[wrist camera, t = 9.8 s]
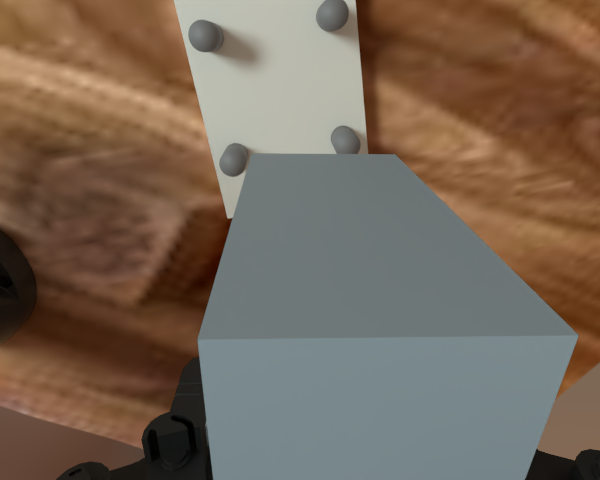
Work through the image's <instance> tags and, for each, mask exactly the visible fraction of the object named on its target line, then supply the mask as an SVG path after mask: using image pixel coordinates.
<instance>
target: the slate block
mask: <svg viewBox="0 0 600 480" xmlns="http://www.w3.org/2000/svg"><path fill="white" fill-rule="evenodd" d="M578 336H579V335H578V334H577V333H576V332H575V331H574V330H573V329H572V328H571V327H570V326H569V325H568V324H567V323H566V322H565V321H564V320H563V319H562V318H561V317H560V316H559V315H558V314H557V313H556V312H555V311H554V310H553V309H552V308H551V307H550V306H549V305H548V304H547V303H546V302H545V301H544V300H542V299H541V298H540V297H539V296H538V295H537V294H536V293H535V292H534V291H533V290H532V289H531V288H530V287H529V286H528V285H527V284H526V283H525V282H524V281H523V280H522V279H521V278H520V277H519V276H518V275H517V274H516V273H515V272H514V271H513V270H512V269H511V268H510V267H509V266H508V265H507V264H506V263H505V262H504V261H503V260H502V259H501V258H500V257H499V256H498V255H497V254H496V253H495V252H494V251H493V250H492V249H491V248H490V247H489V246H488V245H487V244H486V243H485V242H484V241H483V240H482V239H481V238H480V237H479V236H478V235H476V234H475V233H474V232H473V231H472V230H471V229H470V228H469V227H468V226H467V225H466V224H465V223H464V222H463V221H462V220H461V219H460V218H459V217H458V216H457V215H456V214H455V213H454V212H453V211H452V210H451V209H450V208H449V207H448V206H447V205H446V204H445V203H444V202H443V201H442V200H441V199H440V198H439V197H438V196H437V195H436V194H435V193H434V192H433V191H432V190H431V189H430V188H429V187H428V186H427V185H426V184H425V183H424V182H423V181H422V180H421V179H420V178H419V177H418V176H417V175H416V174H415V173H414V172H413V171H411V170H410V169H409V168H408V167H407V166H406V165H405V164H404V163H403V162H402V161H401V160H400V159H399V158H398V157H397V156H396V155H395V154H275V153H252V154H251V157H250V161H249V164H248V168H247V171H246V174H245V178H244V181H243V185H242V188H241V192H240V195H239V199H238V202H237V205H236V209H235V212H234V216H233V219H232V223H231V226H230V229H229V233H228V236H227V240H226V243H225V247H224V250H223V253H222V257H221V260H220V264H219V267H218V271H217V274H216V277H215V281H214V284H213V288H212V291H211V295H210V298H209V301H208V305H207V308H206V312H205V315H204V319H203V322H202V325H201V329H200V332H199V336H198V339H197V341H198V349H199V358H200V367H201V376H202V385H203V394H204V403H205V412H206V420H207V429H208V438H209V447H210V456H211V465H212V474H213V480H525V478H526V476H527V473H528V470H529V468H530V465H531V462H532V459H533V457H534V454H535V451H536V449H537V446H538V443H539V441H540V438H541V435H542V433H543V430H544V427H545V424H546V422H547V419H548V417H549V414H550V411H551V409H552V406H553V403H554V401H555V398H556V395H557V393H558V390H559V387H560V385H561V382H562V379H563V377H564V374H565V371H566V369H567V366H568V363H569V360H570V358H571V355H572V352H573V350H574V347H575V344H576V342H577V339H578Z"/></svg>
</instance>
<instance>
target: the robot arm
mask: <svg viewBox="0 0 600 480" xmlns="http://www.w3.org/2000/svg"><path fill="white" fill-rule="evenodd" d="M35 301H36V284H35V279H34V276H33V273H32V270H31V268H30V266H29V264H28V262H27V260H26V259H25V257H24V256H23V254H22V253H21V251H20V250H19V249H18V248H17V247H16V245H15V244H14V243H13V242H12V241H11V240H10V239H9V238H8V237H7V236H6V235H4V234H3V233H2V232H1V231H0V344H2V343H3V342H5V341H6V340H7V339H9V338H10V337H11V336H12V335H13V334H14V333H15V332H16V331H17V330H18V329H19V328H20V327H21V326H22V325H23V324H24V323H25V322H26V320H27V319H28V318H29V316H30V315H31V313H32V311H33V308H34V305H35ZM142 444H143V449H144V454H145V458H143V459H141V460H140V461H138V462H135V463H133V464H131V465H127V466H124V467H121V468H118V469H115V470H111V471H109V469H108V468H107V467H106V466H104V465H103V464H102V463H97V462H86V463H81V464H78V465H76V466H74V467H72V468H70V469H68V470H67V471H65V472H64V473H63V474H62V475H61V476H60V477H58V478H57V479H56V480H213V474H212V465H211V456H210V447H209V438H208V429H207V420H206V412H205V403H204V394H203V385H202V376H201V367H200V358H192V360H191V361H190V362H189V363H188V364H187V365H186V366H185V368H184V369H183V371H182V374H181V377H180V380H179V385H178V387H177V390H176V393H175V397H174V400H173V403H172V406H171V409H170V412H168V413H165V414H162V415H160V416H158V417H157V418H156V419H154V420H153V421H151V422H150V424H149V425H148V426H147V427H146V429H145V430H144V433H143V436H142ZM525 480H600V451H599V450H592V449H589V450H584V451H581V452H580V454H579V455H578V456H577V457H576V460H575V461H574V460H571V459H567V458H563V457H559V456H555V455H551V454H547V453H545V452H542V451H539V450H538V449H536V451H535V454H534V457H533V459H532V462H531V465H530V468H529V470H528V473H527V476H526V478H525Z"/></svg>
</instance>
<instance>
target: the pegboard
mask: <svg viewBox="0 0 600 480" xmlns="http://www.w3.org/2000/svg"><path fill="white" fill-rule="evenodd" d="M174 3H175V7H176V11H177V15H178V19H179V23H180V27H181V31H182V35H183V39H184V43H185V47H186V51H187V55H188V59H189V64H190V68H191V72H192V76H193V80H194V84H195V88H196V92H197V96H198V100H199V104H200V108H201V112H202V116H203V120H204V124H205V128H206V133H207V137H208V141H209V145H210V149H211V153H212V157H213V161H214V165H215V169H216V173H217V177H218V181H219V185H220V189H221V193H222V197H223V201H224V206H225V210H226V214H227V218H233V216H234V212H235V209H236V205H237V202H238V199H239V195H240V192H241V188H242V185H243V181H244V178H245V174H246V171H247V168H248V164H249V161H250V157H251V154H252V153H275V154H368V146H367V134H366V121H365V109H364V97H363V85H362V73H361V61H360V49H359V36H358V24H357V12H356V0H174Z"/></svg>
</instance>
